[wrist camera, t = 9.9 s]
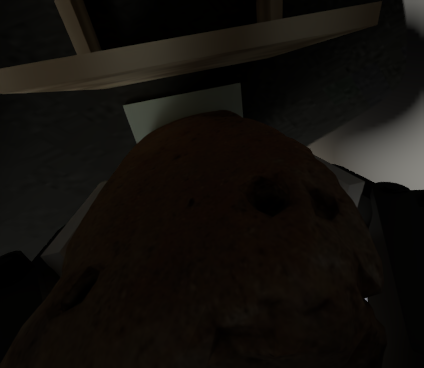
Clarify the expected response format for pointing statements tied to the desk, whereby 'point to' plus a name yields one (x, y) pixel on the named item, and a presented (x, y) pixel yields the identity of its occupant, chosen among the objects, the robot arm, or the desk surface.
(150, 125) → the mat
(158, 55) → the cradle
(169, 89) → the desk surface
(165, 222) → the brown potato
